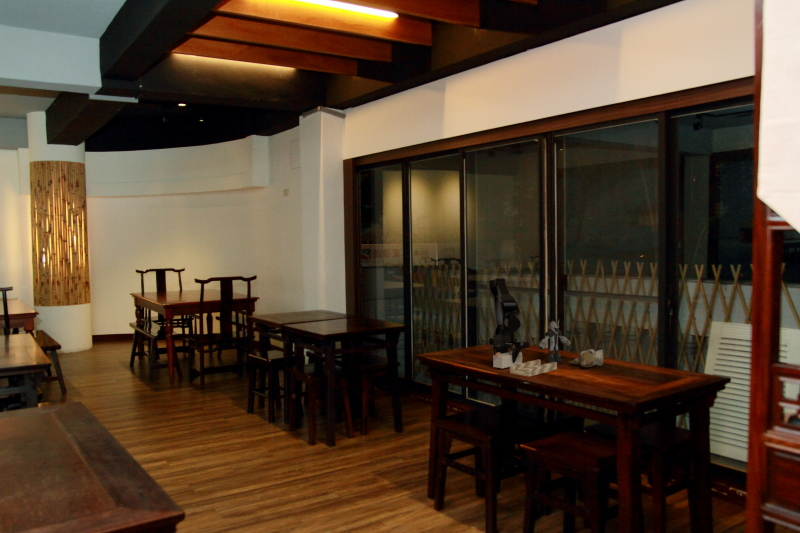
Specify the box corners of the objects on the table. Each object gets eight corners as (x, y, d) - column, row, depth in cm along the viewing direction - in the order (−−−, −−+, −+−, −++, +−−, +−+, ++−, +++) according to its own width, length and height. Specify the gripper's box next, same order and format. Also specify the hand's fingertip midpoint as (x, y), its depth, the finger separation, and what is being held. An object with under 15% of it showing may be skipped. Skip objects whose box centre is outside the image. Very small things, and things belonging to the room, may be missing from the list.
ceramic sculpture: (609, 347, 280) (581, 352, 275) (611, 367, 281) (582, 371, 276) (594, 344, 290) (566, 348, 285) (596, 363, 291) (568, 367, 286)
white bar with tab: (500, 368, 277) (500, 353, 276) (491, 367, 280) (491, 352, 280) (525, 362, 288) (524, 348, 288) (516, 361, 292) (515, 347, 292)
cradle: (529, 376, 265) (529, 369, 265) (509, 373, 272) (509, 366, 272) (556, 369, 278) (556, 362, 278) (537, 366, 286) (537, 359, 286)
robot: (565, 358, 302) (565, 316, 301) (573, 360, 298) (573, 317, 297) (535, 363, 291) (534, 320, 291) (542, 365, 287) (542, 321, 286)
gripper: (480, 327, 285) (481, 361, 286) (514, 331, 271) (514, 367, 272) (496, 324, 293) (496, 358, 293) (529, 328, 279) (530, 363, 280)
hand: (508, 362), depth 285 cm, fingers closed on white bar with tab, 5 cm apart
